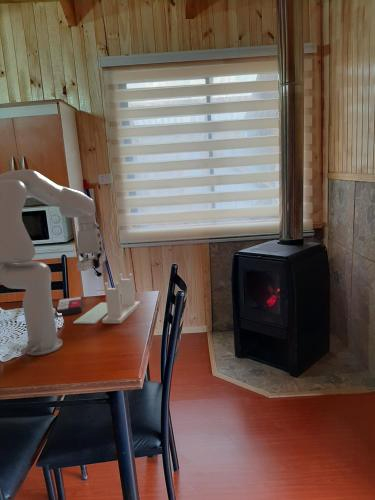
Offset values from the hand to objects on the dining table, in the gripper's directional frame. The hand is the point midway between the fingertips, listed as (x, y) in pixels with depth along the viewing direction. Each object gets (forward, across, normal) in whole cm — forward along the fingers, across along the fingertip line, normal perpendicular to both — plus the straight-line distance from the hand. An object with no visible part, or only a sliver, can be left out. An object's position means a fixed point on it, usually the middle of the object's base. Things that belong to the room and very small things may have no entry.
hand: (92, 267), depth 160 cm
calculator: (+22, +17, -4) cm, 28 cm away
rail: (-1, 0, 0) cm, 1 cm away
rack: (+21, -12, 0) cm, 24 cm away
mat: (+21, 0, 0) cm, 21 cm away
